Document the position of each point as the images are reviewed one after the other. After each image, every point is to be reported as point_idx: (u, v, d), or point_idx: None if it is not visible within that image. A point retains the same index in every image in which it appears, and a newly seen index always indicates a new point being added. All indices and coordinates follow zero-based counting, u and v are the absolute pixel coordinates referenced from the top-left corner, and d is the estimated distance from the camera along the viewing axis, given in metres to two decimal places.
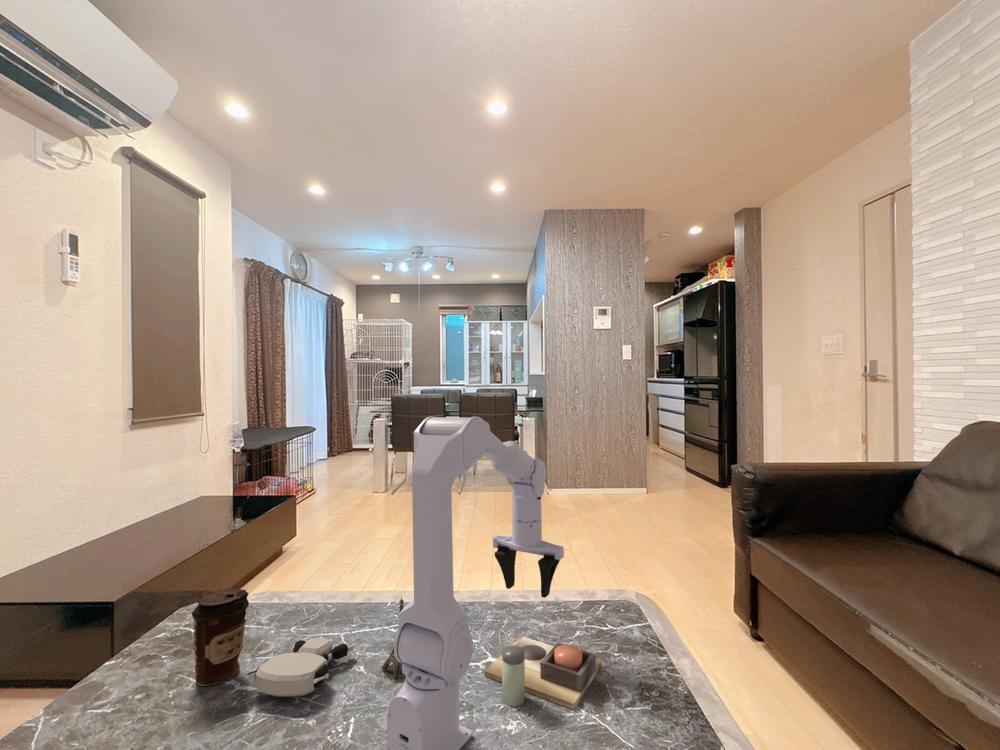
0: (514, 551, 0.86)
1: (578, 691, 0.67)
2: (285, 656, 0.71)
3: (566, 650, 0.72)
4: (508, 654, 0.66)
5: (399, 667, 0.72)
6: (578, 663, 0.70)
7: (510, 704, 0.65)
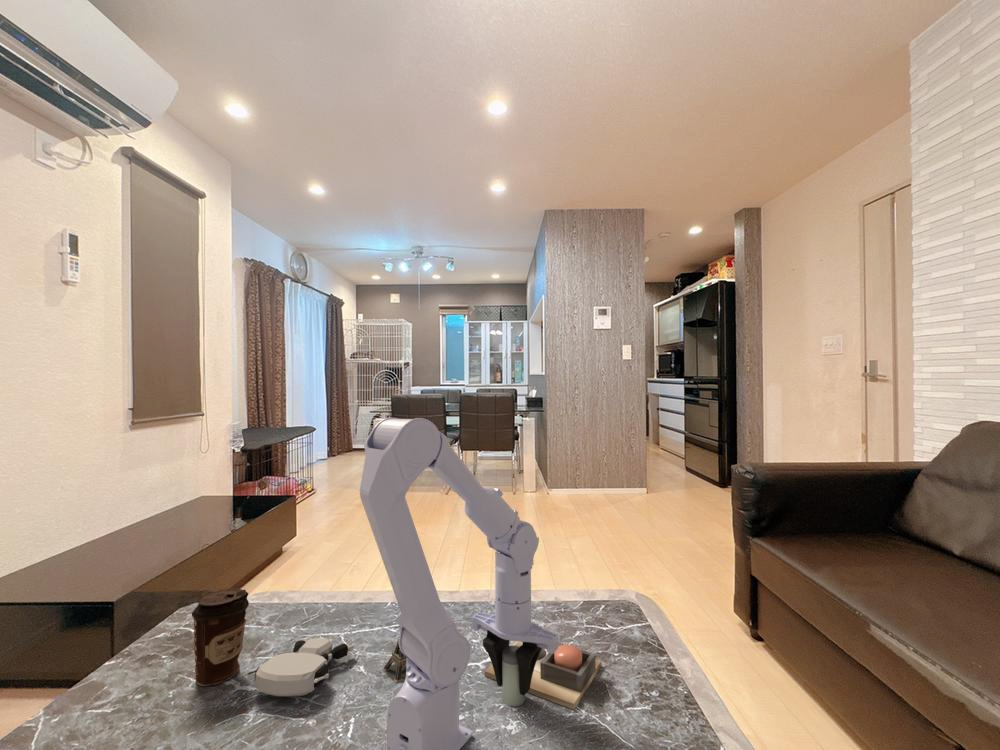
0: None
1: (578, 691, 0.67)
2: (285, 656, 0.71)
3: (566, 650, 0.72)
4: (508, 654, 0.66)
5: (401, 667, 0.72)
6: (578, 663, 0.70)
7: (510, 704, 0.65)
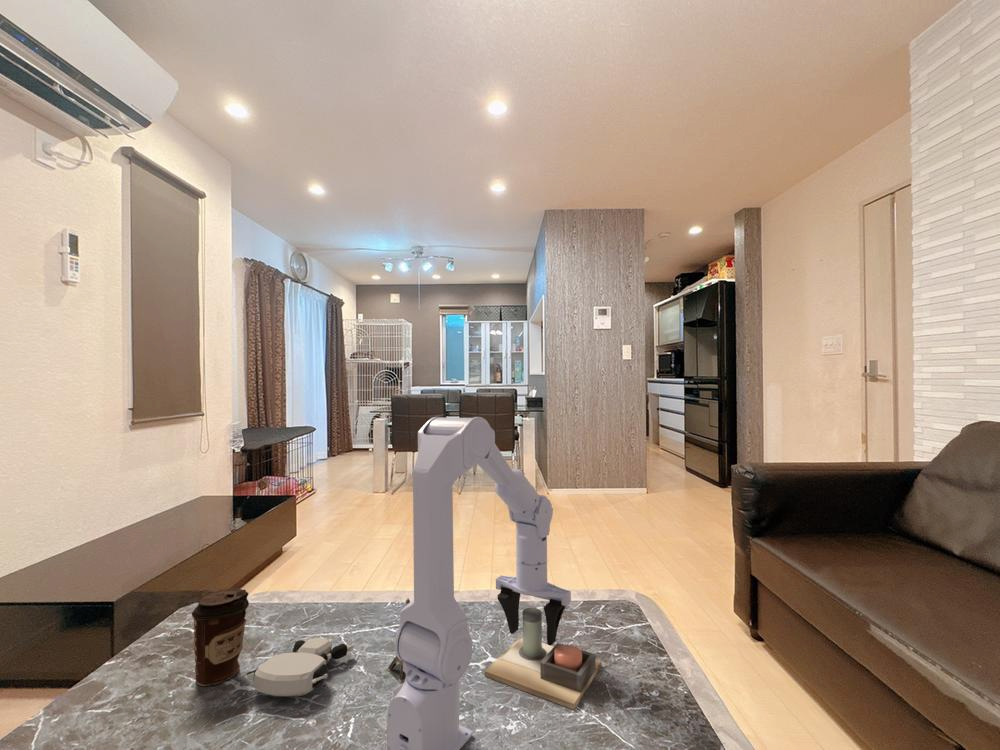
0: (518, 592, 0.82)
1: (578, 691, 0.67)
2: (284, 656, 0.71)
3: (566, 650, 0.72)
4: (527, 614, 0.78)
5: None
6: (578, 663, 0.70)
7: (530, 656, 0.76)
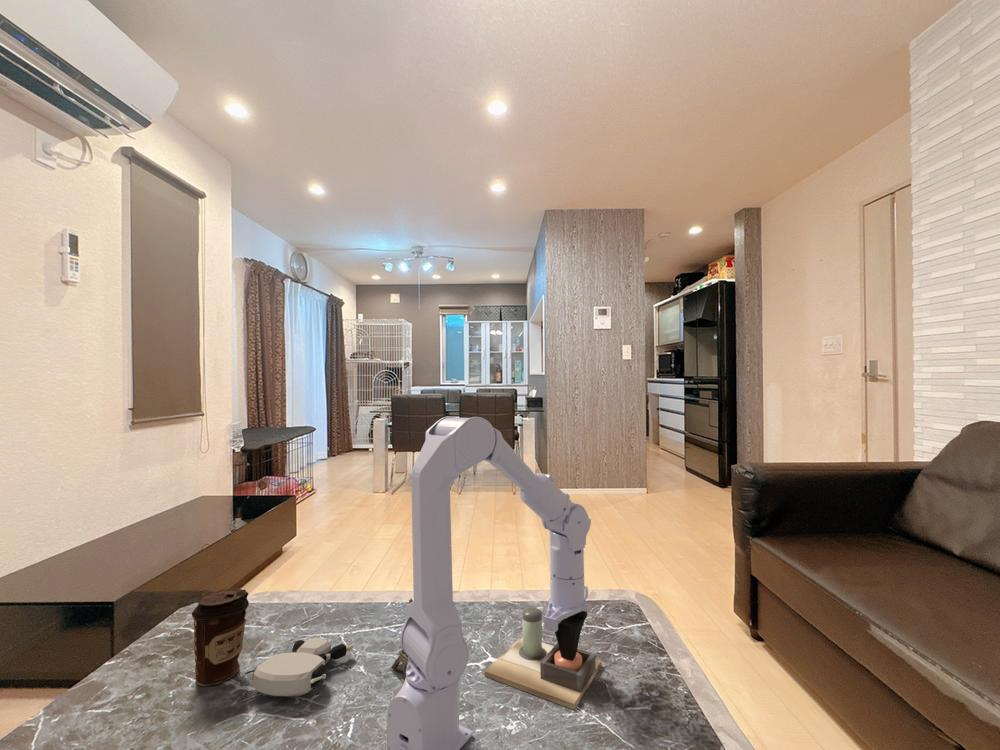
0: (577, 619, 0.72)
1: (578, 691, 0.67)
2: (283, 656, 0.71)
3: None
4: (527, 614, 0.78)
5: None
6: (578, 668, 0.70)
7: (530, 656, 0.76)
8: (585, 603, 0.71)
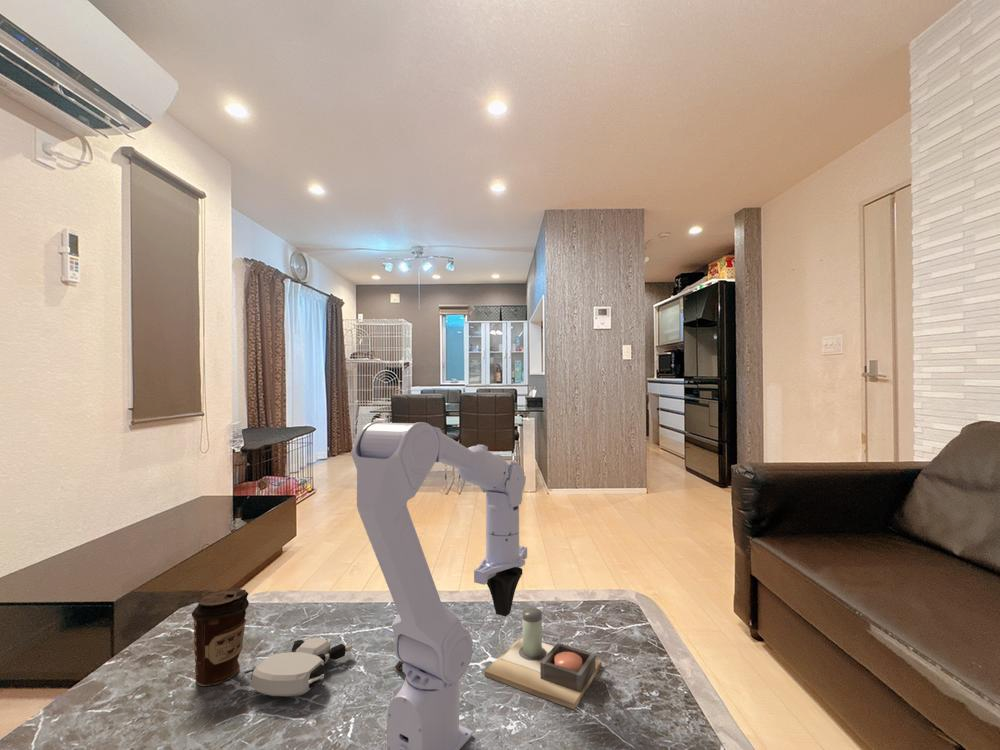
0: None
1: (578, 691, 0.67)
2: (282, 656, 0.71)
3: (566, 657, 0.72)
4: (527, 614, 0.78)
5: None
6: (578, 670, 0.70)
7: (530, 656, 0.76)
8: (519, 560, 0.72)
